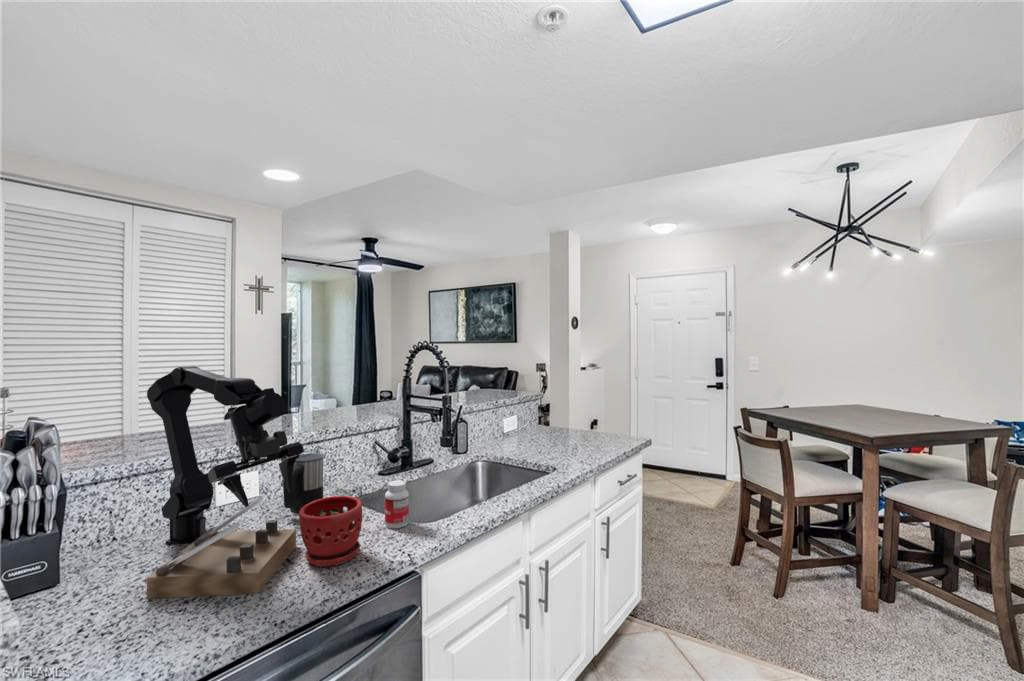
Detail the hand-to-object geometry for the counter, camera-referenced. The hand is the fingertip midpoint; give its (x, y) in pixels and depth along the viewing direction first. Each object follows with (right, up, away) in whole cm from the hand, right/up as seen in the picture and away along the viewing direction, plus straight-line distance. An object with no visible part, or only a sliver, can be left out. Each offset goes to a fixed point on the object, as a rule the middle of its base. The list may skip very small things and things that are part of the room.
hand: (269, 498), depth 105 cm
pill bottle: (+23, -14, +21) cm, 34 cm away
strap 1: (-7, -6, -11) cm, 14 cm away
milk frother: (-2, -14, +31) cm, 34 cm away
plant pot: (+13, -14, +2) cm, 19 cm away
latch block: (-6, -14, -4) cm, 16 cm away
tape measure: (+8, -14, +18) cm, 24 cm away
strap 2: (-9, -5, +2) cm, 11 cm away
